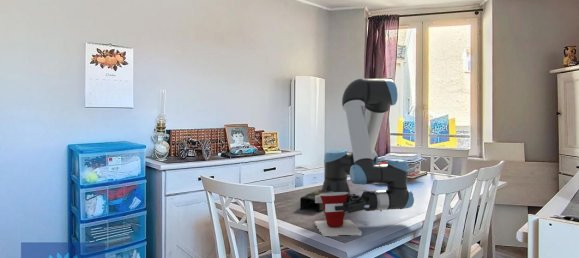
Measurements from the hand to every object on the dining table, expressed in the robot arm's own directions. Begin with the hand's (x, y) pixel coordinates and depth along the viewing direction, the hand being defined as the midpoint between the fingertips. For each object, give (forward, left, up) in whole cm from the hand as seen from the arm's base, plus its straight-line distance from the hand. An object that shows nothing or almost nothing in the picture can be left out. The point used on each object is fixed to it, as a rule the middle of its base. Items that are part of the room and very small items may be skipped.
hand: (320, 203), depth 129 cm
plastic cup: (+2, +5, -8) cm, 9 cm away
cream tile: (+3, +6, -9) cm, 11 cm away
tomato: (-75, +58, -9) cm, 95 cm away
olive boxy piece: (-29, +6, -10) cm, 31 cm away
